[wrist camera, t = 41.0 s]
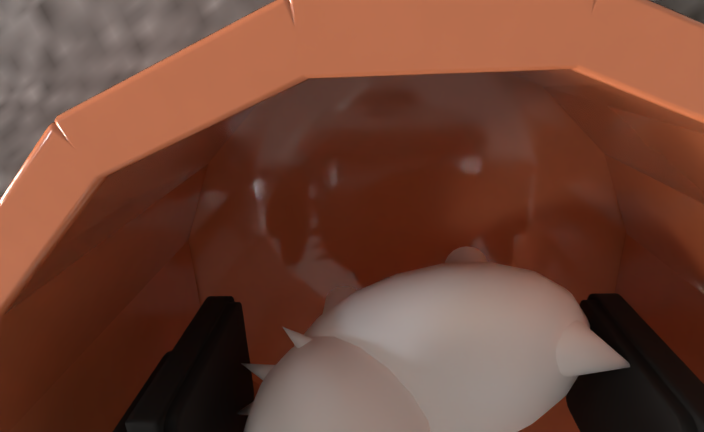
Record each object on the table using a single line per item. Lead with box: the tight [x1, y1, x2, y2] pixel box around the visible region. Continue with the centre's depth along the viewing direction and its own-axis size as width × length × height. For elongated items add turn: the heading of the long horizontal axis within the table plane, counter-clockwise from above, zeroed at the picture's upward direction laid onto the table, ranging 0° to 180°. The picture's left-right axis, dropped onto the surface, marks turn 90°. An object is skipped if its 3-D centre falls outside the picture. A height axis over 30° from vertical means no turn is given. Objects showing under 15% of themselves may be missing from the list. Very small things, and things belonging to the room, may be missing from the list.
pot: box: [0, 0, 704, 432], centre depth 11 cm, size 15×20×8 cm
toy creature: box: [237, 246, 630, 432], centre depth 9 cm, size 5×8×6 cm, turn 112°
